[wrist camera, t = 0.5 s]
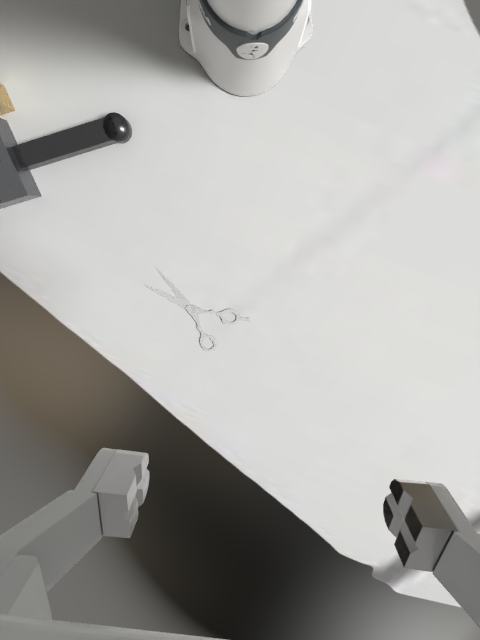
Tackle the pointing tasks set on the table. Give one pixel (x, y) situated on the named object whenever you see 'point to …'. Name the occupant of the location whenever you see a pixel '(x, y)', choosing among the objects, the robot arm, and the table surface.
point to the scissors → (195, 310)
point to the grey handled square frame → (51, 153)
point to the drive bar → (5, 101)
